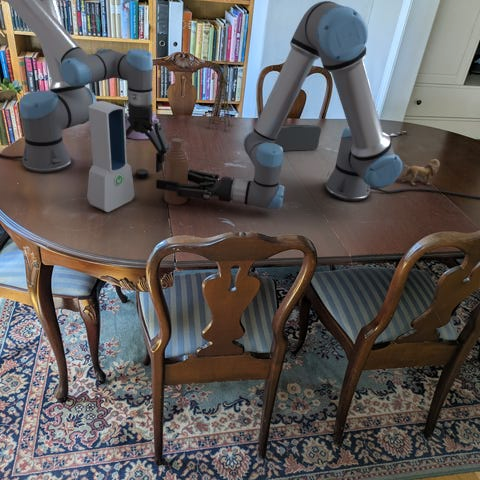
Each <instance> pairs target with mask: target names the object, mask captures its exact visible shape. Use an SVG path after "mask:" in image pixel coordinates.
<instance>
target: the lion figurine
mask: <svg viewBox="0 0 480 480" xmlns="http://www.w3.org/2000/svg"><path fill="white" fill-rule="evenodd" d="M440 166H441V163H440V161H439V160H438V159H436V158H433V159H430V160H429V162H428V163H427V164H426V166H418V165H411V166H410V167H408V169H407V170H406V172H405V173H404V175H403V176H402V178H401V181H400V182H401V184H403V183H405V182H406V177H408V176H410V180H409V181H410V183H411V185H412V186H415V185H416V183H415V182H414V181H415V179H416V177H419V178H420V182H423V183H425V185H427V186H429V185H430V183H429V181H431V178H432V177H433V176H435V175H436V174H437V172H438V171H439V168H440ZM425 177H426V179H425Z"/></svg>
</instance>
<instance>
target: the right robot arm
mask: <svg viewBox="0 0 480 480" xmlns="http://www.w3.org/2000/svg"><path fill="white" fill-rule="evenodd" d="M368 38H369V28H368V25H367V22H366V20H365V18H364V17H363V16H362V15H361V14H360V13H359V12H358V11H356V10H355V9H354V8H352V7H350V6H346V5H342V4H339V3H336V2H334V1H330V0H322V1H319V2H317V3H314V4H313V5H311V6H310V7H309V9H307V11H306V12H305V13H304V14H303V16H302V18H301V20H300V21H299V23H298V25H297V27H296V29H295V32H294V33H293V35H292V37H291V39H290V42H289V44H290V50H289V53H288V55H287V57H286V59H285V61H284V64H283V66H282V68H281V69H280V72H279V74H278V76H277V79H276V81H275V83H274V85H273V87H272V89H271V92H270V94H269V96H268V97H267V100H266V101H265V104H264V106H263V109H262V111H261V112H260V115H259V117H258V120H257V122H256V123H255V126H254V128H253V130H252V131H250V132H249V133H247V134H246V135H245V137H244V138H243V147H244V151H245V153H246V155H247V156H248V158H249V159H250V161H251V163H252V165H253V167H254V175H253V180H250V179H244V178H238V177H237V178H234V177H230V176H225V175H224V176H222V177H221V178H219V177H220V174H216V173H214V174H213V173H209V172H205V171H200V170H196V169H188V182H190V183H191V184H189V183H188V184H179V182H177V183H176V182H170V181H164V179H156V180H155V189H158V190H163V191H164V190H169V191H175V192H176V193H177V196H179V197H187V199H189V198H190V199H198V200H204V201H210V200H211V199H210V198H211V197H218V200H219V201H220V202H225V203H230V202H232V203H233V204H239V205H240V206H242V205H245V206H250V207H256V208H261V209H265V210H276V211H277V210H280V209H281V208H282V206H283V201H284V196H285V186H284V185H281V184H280V178H281V171H282V165H283V161H284V151H283V149H282V147H281V146H278V145H277V144H274V142H275V140H276V137H277V135H278V133H279V131H280V129H281V127H282V125H284V123H285V121H286V119H287V117H288V115H289V113H290V111H291V110H292V107H293V106H294V104H295V101H296V99H297V98H298V95H299V93H300V92H301V89H302V87H303V85H304V84H305V81H306V79H307V78H308V75H309V74H310V72H311V69H312V67H313V65H314V63H315V61H317V60H319V59H320V62H321V64H322V68H323V69H324V71H326V72H329V73H331V76H332V79H333V82H334V85H335V89H336V92H337V95H338V98H339V101H340V104H341V107H342V111H343V114H344V117H345V119H346V123H347V127H345V128H344V129H343V131H342V134H341V136H340V143H339V148H338V153H337V157H336V162H335V165H334V169H333V171H332V172H331V173H330V172H328V173H327V175H326V178H328V179H327V180H326V183H325V188H324V189H325V191H326V192H327V194H329V195H330V196H331V197H333V198H335V199H338V200H340V201H345V202H351V203H356V202H357V203H359V202H363V201H366V200H368V199H369V197H370V194H371V190H373V191H379V192H381V193H385V194H393V193H399V192H408V191H409V192H411V191H423V192H425V191H426V192H433V193H434V192H436V193H441V194H449V195H455V196H460V197H467V198H472V199H479V200H480V196H478V195H471V194H467V193H466V194H465V193H460V192H453V191H449V190H442V189H435V188H423V187H422V188H419V187H418V188H417V187H413V188H412V187H411V188H400V189H394V190H386V189H385V190H384V189H383V188H387V187H389V186H391V185H393V184H394V183H395V182H396V181H397V180H398V177H399V176H400V175H401V173H402V171H403V161H402V159H401V158H400V156H399V155H397V154H395V152H394V148H393V144H392V141H391V137H389V136H388V135H389V134H386V133H385V132H383V128H382V124H381V121H380V118H379V114H378V110H377V107H376V103H375V100H374V99H375V98H374V95H373V92H372V89H371V88H372V87H371V84H370V81H369V77H368V74H367V70H366V66H365V62H364V59H365V58H366V55H367V54H368V50H367V47H366V43H367V42H368ZM329 174H330V175H329ZM328 176H329V177H328ZM192 183H193V184H192Z"/></svg>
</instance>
